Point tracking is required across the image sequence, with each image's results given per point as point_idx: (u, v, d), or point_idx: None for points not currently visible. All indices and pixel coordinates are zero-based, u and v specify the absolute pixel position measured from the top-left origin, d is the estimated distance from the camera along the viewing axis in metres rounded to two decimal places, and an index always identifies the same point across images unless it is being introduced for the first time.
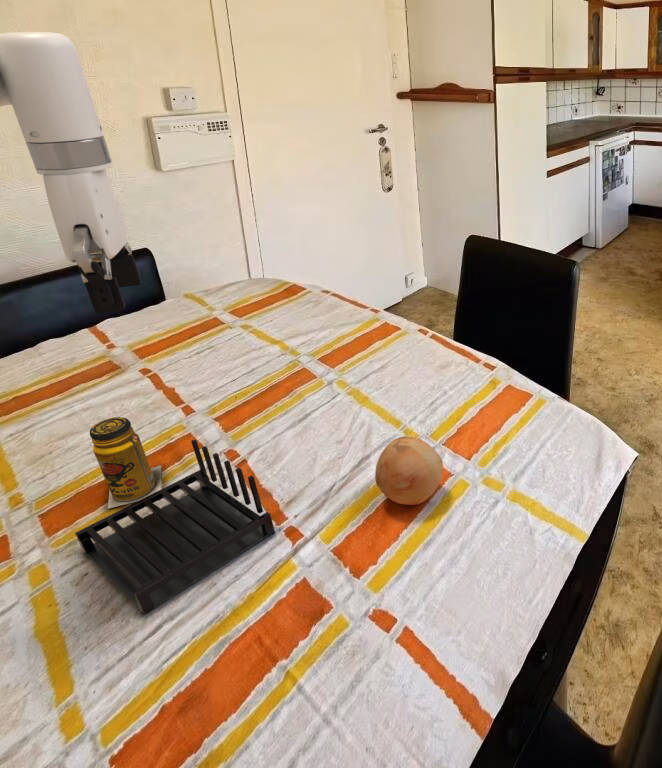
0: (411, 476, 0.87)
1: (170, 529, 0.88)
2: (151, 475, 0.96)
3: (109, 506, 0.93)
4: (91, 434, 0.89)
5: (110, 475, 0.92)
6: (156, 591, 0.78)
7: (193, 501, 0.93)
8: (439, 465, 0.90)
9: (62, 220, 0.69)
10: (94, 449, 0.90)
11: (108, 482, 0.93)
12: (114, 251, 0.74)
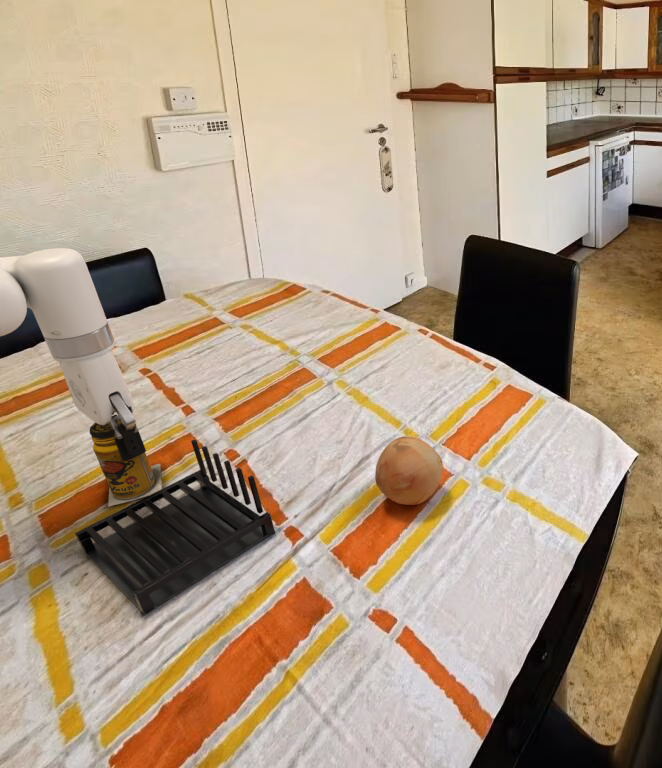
0: (411, 476, 0.87)
1: (170, 529, 0.88)
2: (151, 473, 0.97)
3: (110, 504, 0.93)
4: (91, 432, 0.90)
5: (111, 472, 0.92)
6: (156, 591, 0.78)
7: (193, 501, 0.93)
8: (439, 465, 0.90)
9: (99, 393, 0.85)
10: (94, 447, 0.91)
11: (108, 480, 0.93)
12: None
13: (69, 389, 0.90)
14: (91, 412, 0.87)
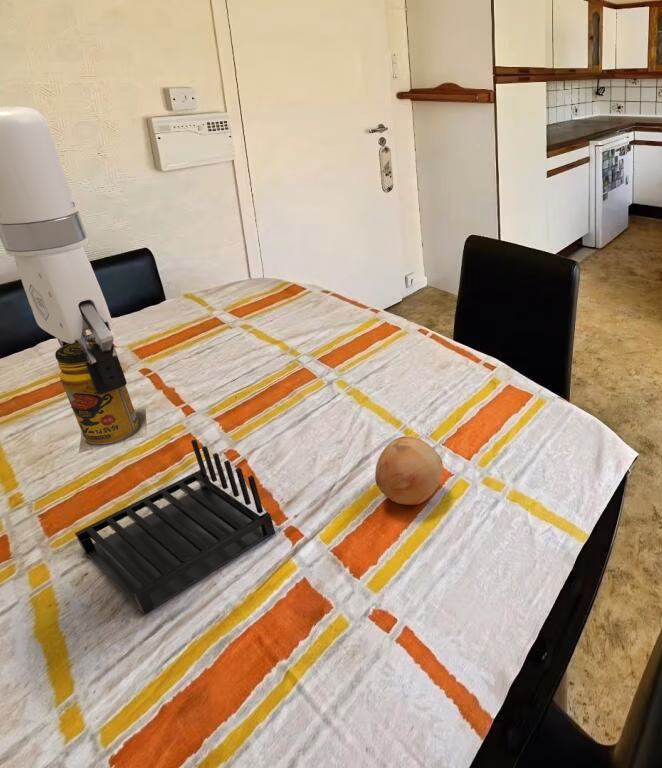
0: (411, 476, 0.87)
1: (170, 529, 0.88)
2: (134, 414, 0.78)
3: (81, 450, 0.75)
4: (57, 356, 0.71)
5: (82, 409, 0.73)
6: (156, 591, 0.78)
7: (193, 501, 0.93)
8: (439, 465, 0.90)
9: (66, 299, 0.66)
10: (61, 376, 0.72)
11: (79, 420, 0.74)
12: None
13: (29, 301, 0.71)
14: (56, 326, 0.68)
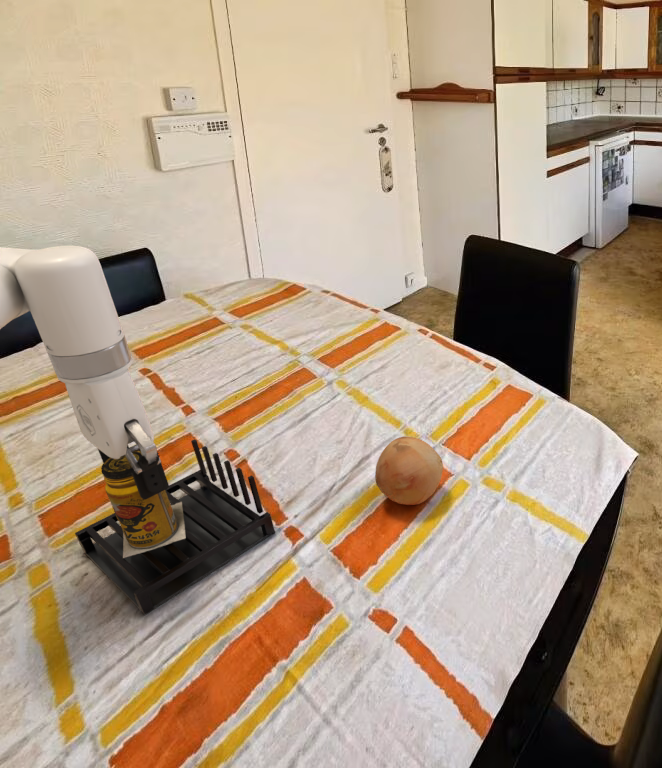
0: (411, 476, 0.87)
1: None
2: (173, 516, 0.82)
3: (125, 555, 0.79)
4: (104, 472, 0.75)
5: (126, 518, 0.78)
6: (156, 591, 0.78)
7: (193, 501, 0.93)
8: (439, 465, 0.90)
9: (113, 421, 0.70)
10: (107, 489, 0.76)
11: (123, 527, 0.79)
12: None
13: (75, 414, 0.75)
14: (102, 443, 0.72)
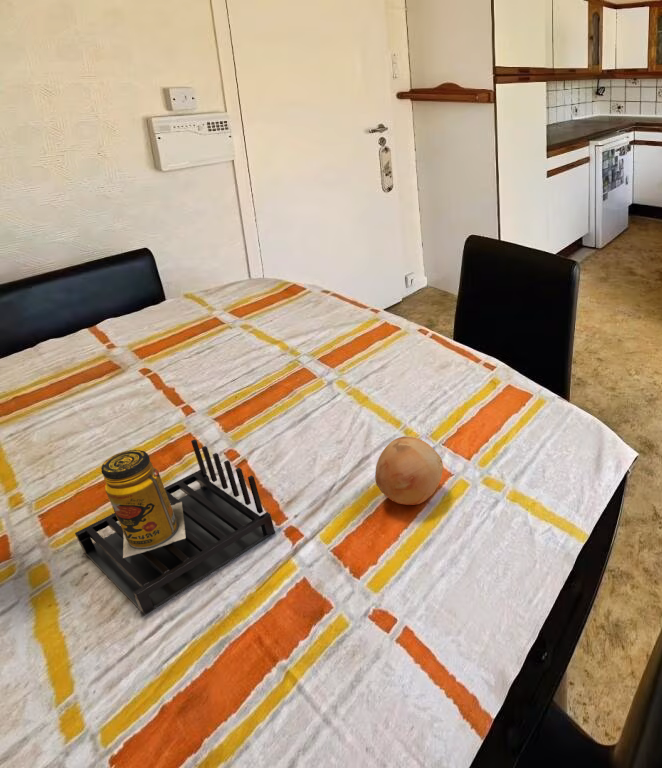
0: (411, 476, 0.87)
1: None
2: (173, 516, 0.82)
3: (125, 555, 0.79)
4: (104, 472, 0.75)
5: (126, 518, 0.78)
6: (156, 591, 0.78)
7: (193, 501, 0.93)
8: (439, 465, 0.90)
9: None
10: (107, 489, 0.76)
11: (123, 527, 0.79)
12: None
13: None
14: None
